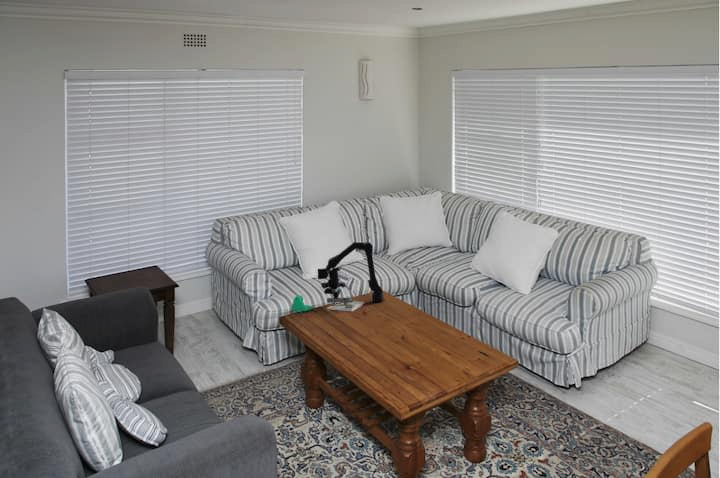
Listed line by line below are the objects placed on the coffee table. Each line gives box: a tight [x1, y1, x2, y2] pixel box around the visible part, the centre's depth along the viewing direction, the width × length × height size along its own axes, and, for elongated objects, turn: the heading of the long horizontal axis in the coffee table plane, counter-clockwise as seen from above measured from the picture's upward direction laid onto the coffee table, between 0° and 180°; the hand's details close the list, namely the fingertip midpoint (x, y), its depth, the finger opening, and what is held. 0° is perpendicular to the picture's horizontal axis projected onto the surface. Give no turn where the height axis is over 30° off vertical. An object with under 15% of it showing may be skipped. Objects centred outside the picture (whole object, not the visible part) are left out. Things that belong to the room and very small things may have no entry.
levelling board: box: [326, 300, 365, 312], centre depth 388 cm, size 18×18×4 cm
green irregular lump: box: [290, 294, 313, 313], centre depth 389 cm, size 12×8×10 cm, turn 52°
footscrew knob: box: [326, 296, 353, 305], centre depth 391 cm, size 17×6×4 cm, turn 75°
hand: (336, 300), depth 394 cm, fingers closed
